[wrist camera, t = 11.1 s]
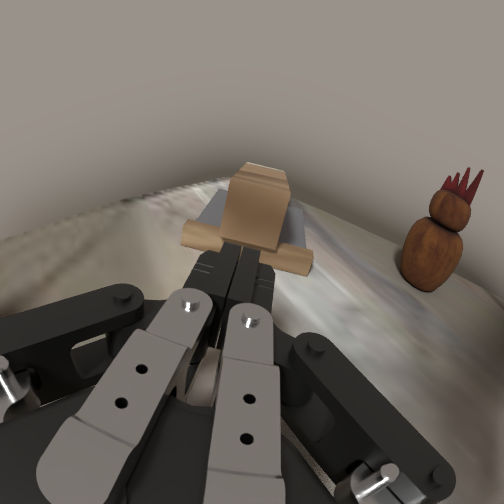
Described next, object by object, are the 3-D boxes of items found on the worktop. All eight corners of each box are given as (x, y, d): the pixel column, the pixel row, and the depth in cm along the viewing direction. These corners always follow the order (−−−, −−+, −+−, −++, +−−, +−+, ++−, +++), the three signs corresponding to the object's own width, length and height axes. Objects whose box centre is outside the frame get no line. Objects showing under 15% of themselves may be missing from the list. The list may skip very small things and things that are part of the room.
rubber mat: (306, 265, 31) (307, 263, 30) (186, 235, 30) (187, 233, 30) (301, 211, 44) (302, 209, 44) (218, 190, 44) (219, 188, 43)
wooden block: (290, 193, 25) (284, 171, 40) (230, 179, 25) (247, 162, 40) (275, 249, 27) (275, 207, 42) (218, 236, 27) (238, 198, 42)
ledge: (306, 276, 29) (313, 258, 28) (180, 244, 29) (183, 225, 28) (306, 268, 30) (312, 250, 29) (185, 238, 30) (187, 219, 29)
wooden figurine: (447, 298, 31) (502, 180, 24) (418, 301, 29) (479, 167, 22) (414, 266, 37) (459, 158, 29) (384, 265, 35) (431, 144, 27)
